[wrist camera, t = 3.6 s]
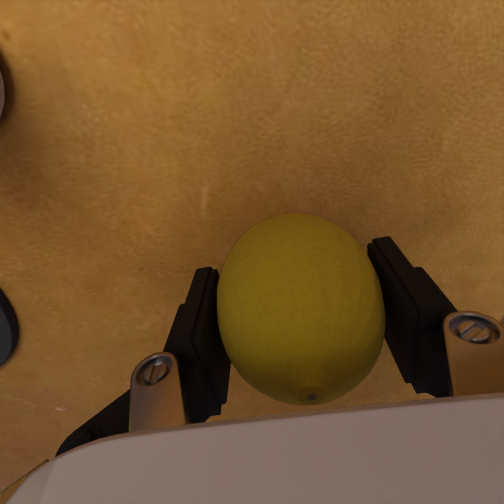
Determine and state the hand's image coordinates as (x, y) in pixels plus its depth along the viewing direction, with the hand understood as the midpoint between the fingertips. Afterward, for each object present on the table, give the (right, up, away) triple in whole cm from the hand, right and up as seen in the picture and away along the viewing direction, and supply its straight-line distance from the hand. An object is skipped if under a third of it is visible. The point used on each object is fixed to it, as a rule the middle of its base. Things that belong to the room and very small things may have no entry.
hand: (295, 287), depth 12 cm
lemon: (0, +2, +3) cm, 3 cm away
